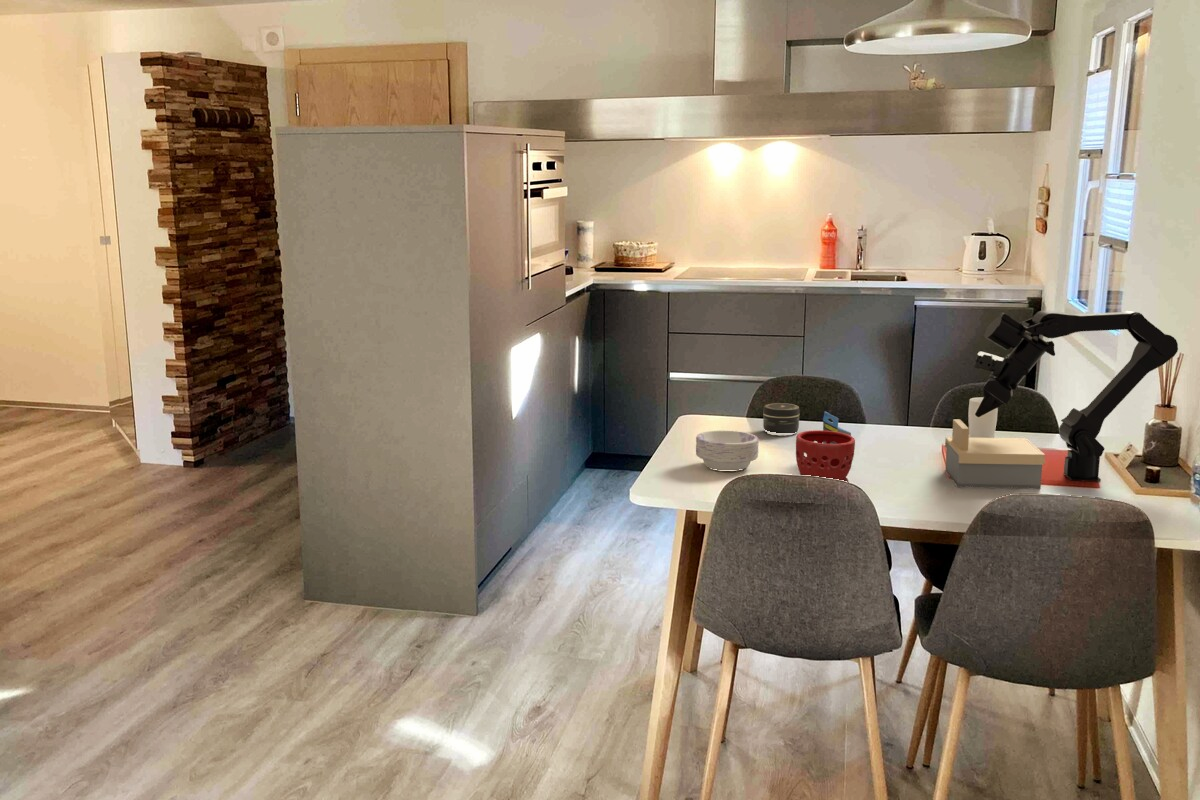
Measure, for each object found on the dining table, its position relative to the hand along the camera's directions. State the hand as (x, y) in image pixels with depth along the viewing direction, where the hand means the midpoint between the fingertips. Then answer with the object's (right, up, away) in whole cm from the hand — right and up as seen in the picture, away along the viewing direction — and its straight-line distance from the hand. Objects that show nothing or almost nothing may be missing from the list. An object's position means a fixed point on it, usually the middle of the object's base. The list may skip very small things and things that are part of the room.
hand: (979, 411), depth 249 cm
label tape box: (-31, -13, +14) cm, 36 cm away
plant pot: (-38, -17, -8) cm, 43 cm away
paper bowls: (-58, -14, +10) cm, 61 cm away
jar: (-39, -7, +47) cm, 61 cm away
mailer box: (+2, -16, -4) cm, 16 cm away
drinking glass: (+6, -12, +16) cm, 21 cm away
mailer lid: (+1, -10, -5) cm, 11 cm away
